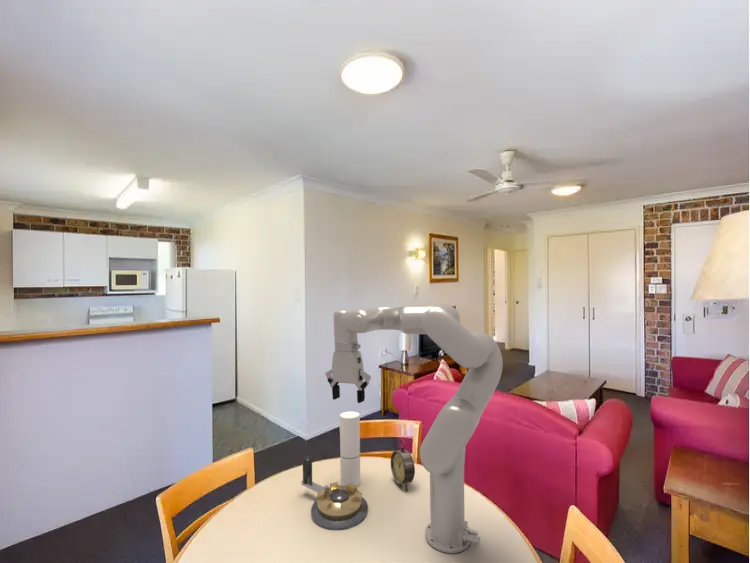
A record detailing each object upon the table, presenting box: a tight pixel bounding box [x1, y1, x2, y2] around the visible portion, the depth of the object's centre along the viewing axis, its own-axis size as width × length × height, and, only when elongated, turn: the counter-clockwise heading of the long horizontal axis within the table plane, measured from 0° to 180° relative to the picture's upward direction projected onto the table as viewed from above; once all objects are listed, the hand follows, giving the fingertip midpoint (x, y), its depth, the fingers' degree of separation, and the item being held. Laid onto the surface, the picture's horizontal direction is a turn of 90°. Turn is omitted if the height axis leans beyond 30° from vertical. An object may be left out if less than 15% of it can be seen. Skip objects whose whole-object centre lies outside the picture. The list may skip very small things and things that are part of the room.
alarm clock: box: [390, 438, 416, 492], centre depth 131 cm, size 11×5×16 cm, turn 25°
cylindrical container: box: [339, 410, 361, 488], centre depth 132 cm, size 7×7×25 cm
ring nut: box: [300, 455, 363, 520], centre depth 119 cm, size 24×14×11 cm, turn 53°
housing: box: [310, 496, 369, 531], centre depth 116 cm, size 18×18×1 cm
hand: (348, 400), depth 118 cm, fingers open, 9 cm apart
